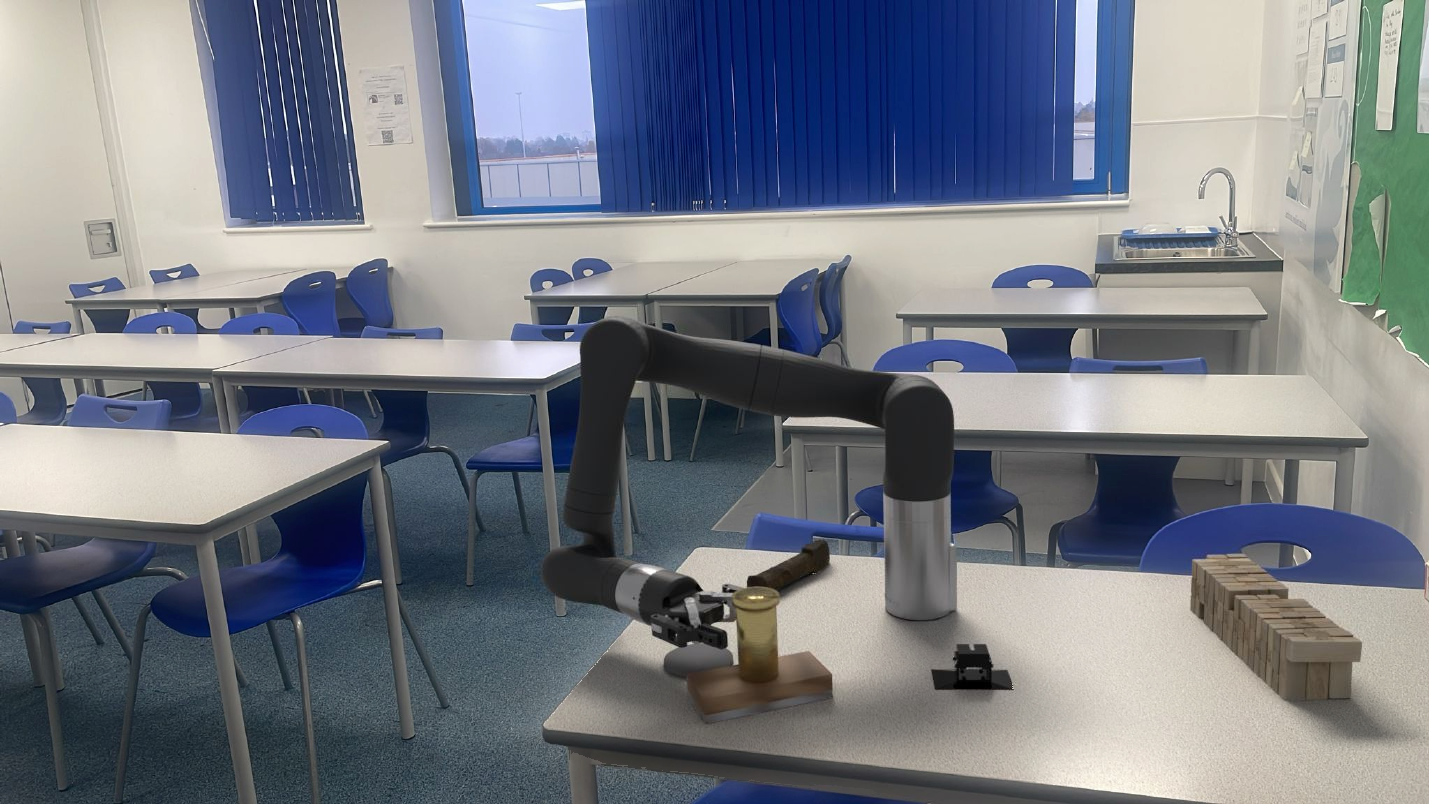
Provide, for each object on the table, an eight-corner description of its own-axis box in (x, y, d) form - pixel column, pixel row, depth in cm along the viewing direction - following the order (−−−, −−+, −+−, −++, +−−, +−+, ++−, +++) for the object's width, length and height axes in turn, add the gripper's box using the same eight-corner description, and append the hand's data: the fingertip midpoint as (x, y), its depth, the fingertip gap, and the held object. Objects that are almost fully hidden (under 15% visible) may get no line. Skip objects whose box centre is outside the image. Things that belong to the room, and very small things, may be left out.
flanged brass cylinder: (772, 660, 131) (769, 583, 129) (789, 679, 126) (786, 600, 124) (729, 668, 129) (725, 591, 127) (744, 688, 124) (741, 607, 122)
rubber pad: (720, 643, 144) (720, 638, 144) (742, 670, 135) (742, 666, 135) (656, 654, 141) (655, 650, 141) (674, 683, 133) (674, 679, 133)
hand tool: (765, 604, 157) (764, 575, 156) (745, 598, 160) (744, 569, 159) (844, 567, 170) (843, 539, 169) (824, 561, 173) (823, 534, 172)
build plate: (1019, 671, 133) (1020, 636, 132) (1030, 698, 126) (1030, 662, 125) (918, 670, 134) (918, 636, 133) (923, 697, 127) (923, 662, 126)
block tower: (1185, 613, 149) (1287, 708, 120) (1186, 555, 147) (1290, 637, 119) (1243, 611, 148) (1359, 706, 120) (1245, 553, 147) (1362, 635, 118)
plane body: (809, 673, 134) (809, 650, 133) (832, 697, 127) (832, 674, 127) (687, 697, 129) (686, 674, 129) (705, 723, 123) (704, 699, 122)
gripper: (614, 586, 133) (707, 618, 122) (695, 554, 143) (788, 581, 131) (618, 642, 134) (710, 679, 123) (698, 607, 144) (790, 638, 133)
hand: (750, 628), depth 127 cm, fingers open, 8 cm apart
